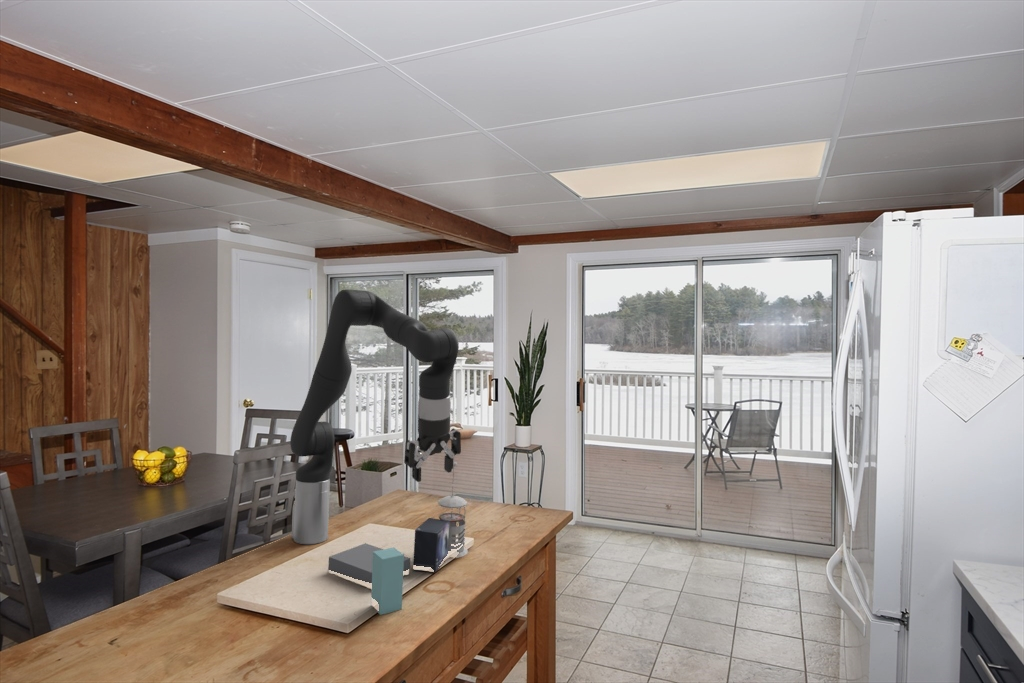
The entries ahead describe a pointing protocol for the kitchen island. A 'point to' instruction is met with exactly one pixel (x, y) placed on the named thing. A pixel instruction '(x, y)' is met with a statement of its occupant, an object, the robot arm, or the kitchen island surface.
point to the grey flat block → (358, 562)
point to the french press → (453, 518)
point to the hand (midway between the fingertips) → (432, 475)
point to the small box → (431, 543)
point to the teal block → (387, 579)
